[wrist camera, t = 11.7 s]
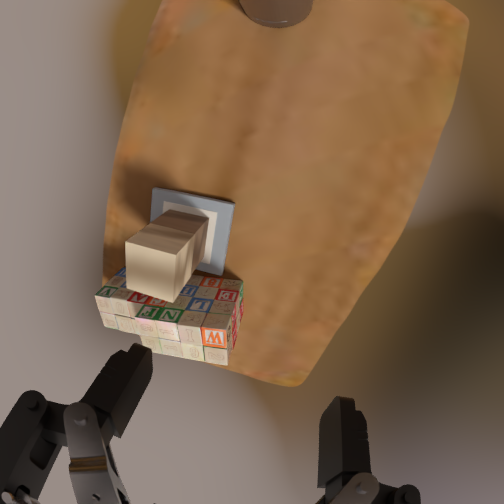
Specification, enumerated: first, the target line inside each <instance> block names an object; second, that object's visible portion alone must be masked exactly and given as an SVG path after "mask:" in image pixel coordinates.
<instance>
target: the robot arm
mask: <svg viewBox="0 0 504 504" xmlns="http://www.w3.org/2000/svg"><path fill="white" fill-rule="evenodd" d="M239 2H240V4H241V6H242V8H243V10H244V11H245V13H246V14H247V16H248V17H249V18H250V19H251V20H253V21H255V22H256V23H258V24H261V25H263V26H267V27H273V28H282V27H288V26H292V25H295V24H297V23H299V22H301V21H302V20H304V19H305V18H306V17H307V16H308V15H309V13H310V11H311V9H312V4H313V0H239ZM152 372H153V364H152V349H151V348H148V347H146V346H143V345H140V344H137V343H134V344H133V345H132V346H131V348H130V349H129V351H128V352H125V351H123V350H120V351H118V352H116V353H115V354H113V355H112V356H111V357H110V358H109V360H108V361H107V363H106V364H105V366H104V367H103V368H102V370H101V371H100V373H99V374H98V376H97V377H96V379H95V380H94V382H93V383H92V385H91V386H90V388H89V389H88V391H87V392H86V394H85V395H84V397H83V398H82V399H81V400H80V401H79V402H75V403H72V404H70V405H64V404H58V403H55V402H51V401H47V400H46V399H45V398H44V396H43V395H42V394H41V393H40V392H38V391H34V390H30V391H26V392H24V393H23V394H22V395H21V396H20V398H19V399H18V401H17V402H16V404H15V405H14V407H13V408H12V410H11V412H10V413H9V415H8V416H7V418H6V420H5V421H4V423H3V424H2V426H1V428H0V504H40V503H39V502H38V497H39V495H40V493H41V491H42V488H43V486H44V484H45V482H46V479H47V477H48V475H49V473H50V471H51V468H52V466H53V464H54V462H55V460H56V458H57V456H58V454H59V452H60V450H61V448H62V446H66V447H68V450H69V455H70V460H71V463H70V464H69V473H70V478H71V482H72V485H73V489H74V493H75V496H76V500H77V503H78V504H131V503H130V500H129V497H128V495H127V492H126V490H125V488H124V485H123V483H122V481H121V479H120V476H119V473H118V470H117V467H116V463H115V460H114V457H113V454H112V450H111V446H110V440H111V439H112V437H113V435H114V436H116V437H118V438H121V436H122V434H123V432H124V430H125V428H126V426H127V424H128V422H129V420H130V418H131V417H132V415H133V413H134V411H135V409H136V407H137V405H138V403H139V401H140V399H141V397H142V395H143V393H144V391H145V390H146V388H147V386H148V384H149V382H150V380H151V377H152ZM318 463H319V464H318V485H317V488H326V489H325V495H323V496H322V497H321V498H320V499H319V500H318V501H317V503H315V504H421V499H420V492H419V490H418V489H417V488H416V487H415V486H413V485H408V484H407V485H403V486H401V487H399V488H395V487H392V486H388V485H384V484H381V483H380V482H378V480H377V478H376V477H375V476H374V475H372V472H371V466H370V454H369V442H368V433H367V423H366V420H365V417H364V415H363V414H362V412H361V411H356V410H355V401H354V399H353V398H347V397H340V396H336V397H335V398H334V399H333V401H332V402H331V403H330V405H329V406H328V408H327V409H326V410H325V411H324V413H323V414H322V416H321V419H320V424H319V462H318Z"/></svg>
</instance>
